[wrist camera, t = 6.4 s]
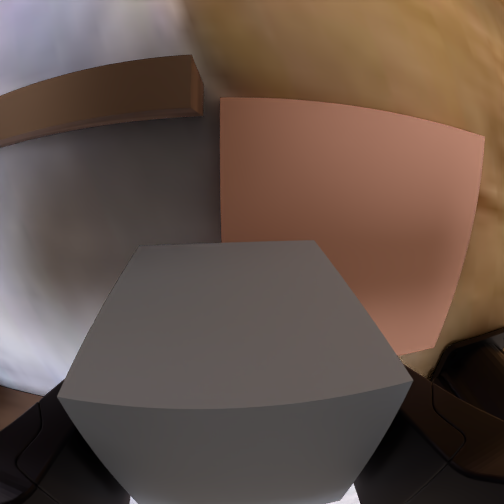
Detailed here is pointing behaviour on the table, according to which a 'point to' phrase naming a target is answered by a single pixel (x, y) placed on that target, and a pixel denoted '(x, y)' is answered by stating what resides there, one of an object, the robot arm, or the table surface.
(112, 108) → the walnut u-shaped frame
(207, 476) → the slate block
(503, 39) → the table surface
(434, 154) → the terracotta mat
